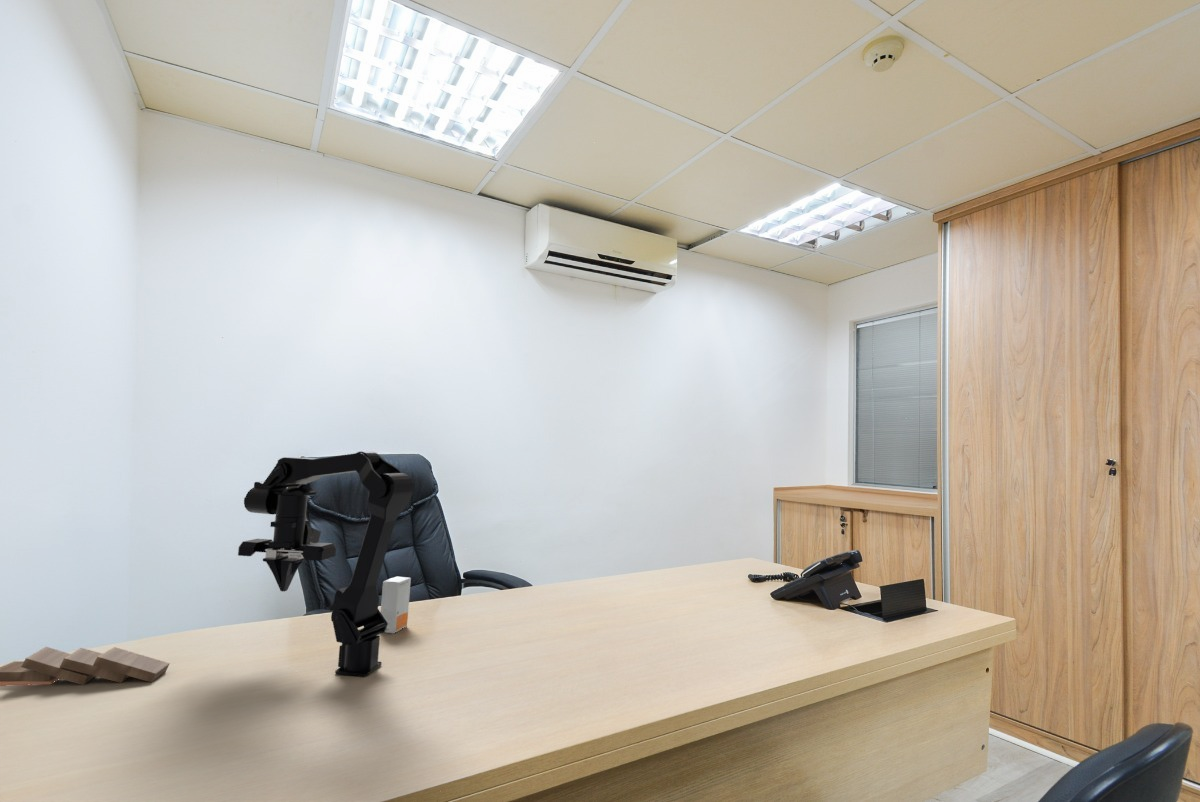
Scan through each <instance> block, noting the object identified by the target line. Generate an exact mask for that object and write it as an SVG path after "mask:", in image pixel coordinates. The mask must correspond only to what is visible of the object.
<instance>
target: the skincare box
mask: <svg viewBox="0 0 1200 802" xmlns="http://www.w3.org/2000/svg"><path fill="white" fill-rule="evenodd" d="M411 580H412V578H411V577H407V576H394V577H391V578H388V579H386V580H384V581H382V588H381V589H382V592H381V602H380V603H381V604H380V612H381V614H382V615H383V617H384V618H385V620H386V621H387V623H388V625H387V628H386V630H385V632H384V633H386V634H395V632H396V633H397V632H399V631H401V630H403V629H405V628H407V627H408V619H409V618H408V617H409V609H410V607H409V605H410V594H411V582H412V581H411ZM406 626H407V627H406ZM404 627H405V628H404ZM402 628H403V629H402Z"/></svg>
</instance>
